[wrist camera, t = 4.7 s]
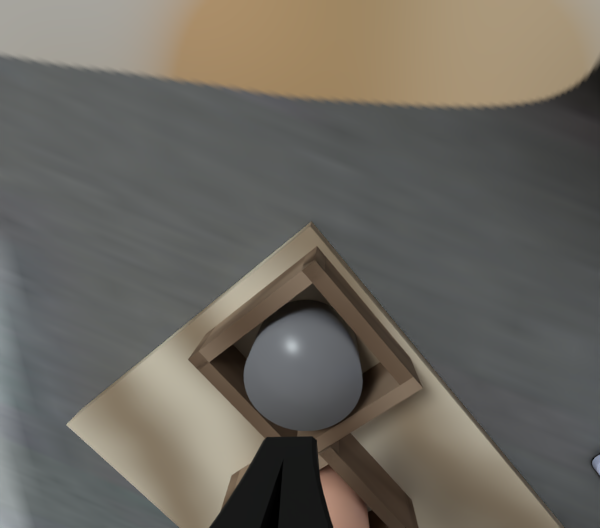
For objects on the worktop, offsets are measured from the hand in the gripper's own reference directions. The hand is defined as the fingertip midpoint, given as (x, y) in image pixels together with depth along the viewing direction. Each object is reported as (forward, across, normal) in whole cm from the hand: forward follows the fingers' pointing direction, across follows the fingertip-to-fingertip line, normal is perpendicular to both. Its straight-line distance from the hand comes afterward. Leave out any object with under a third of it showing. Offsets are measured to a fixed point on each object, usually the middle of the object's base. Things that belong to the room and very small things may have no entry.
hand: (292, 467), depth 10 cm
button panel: (+8, 0, +8) cm, 11 cm away
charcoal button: (+7, 0, 0) cm, 7 cm away
